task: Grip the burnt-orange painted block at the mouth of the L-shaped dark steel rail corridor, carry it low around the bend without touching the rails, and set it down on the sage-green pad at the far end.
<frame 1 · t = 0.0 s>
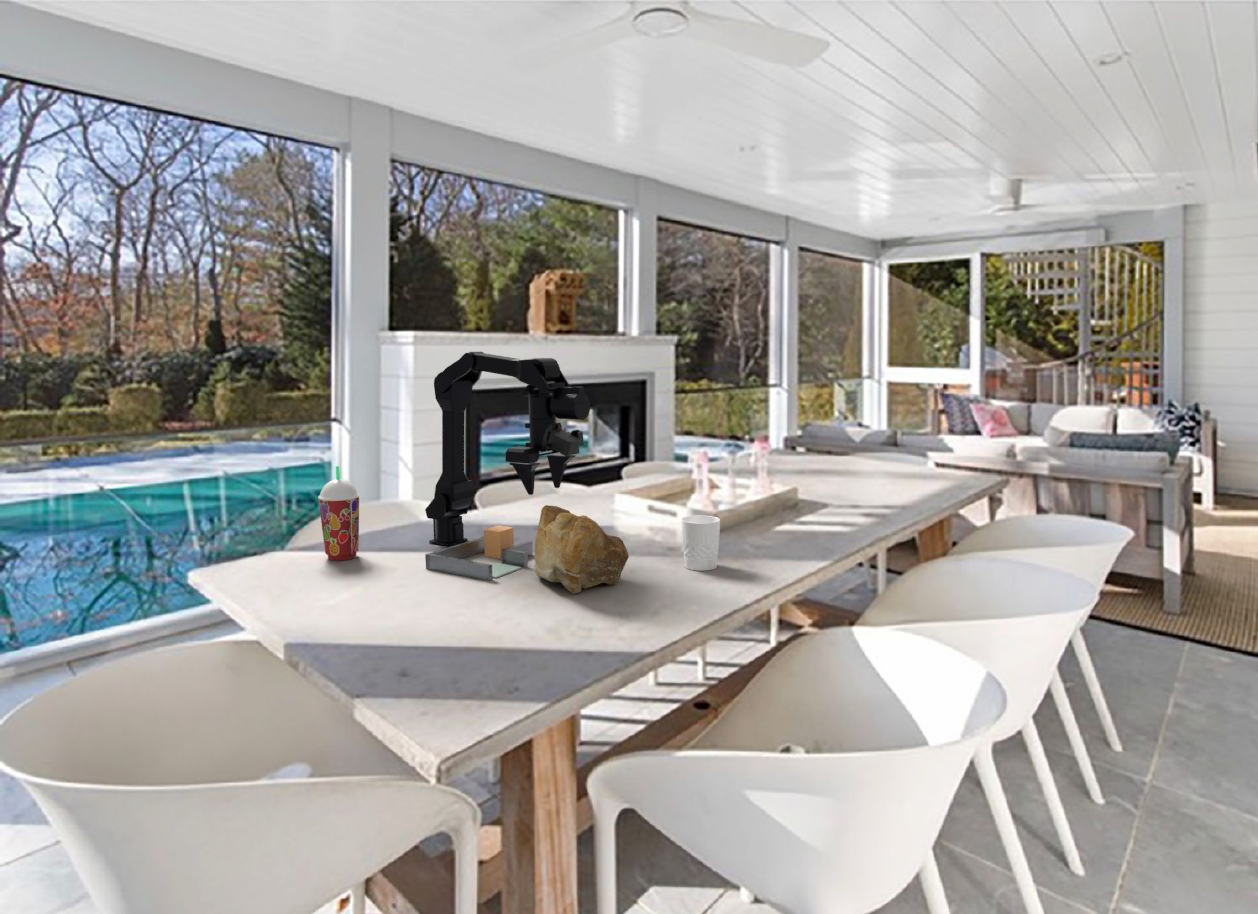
hand: (544, 491, 169), 15 cm above the table, fingers open, 9 cm apart
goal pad: (493, 570, 162), on the table
white cup: (700, 567, 164), on the table
orange block: (499, 555, 174), on the table
steel rail course: (467, 565, 165), on the table
smoothie: (342, 558, 172), on the table
rough brown rock: (584, 583, 153), on the table
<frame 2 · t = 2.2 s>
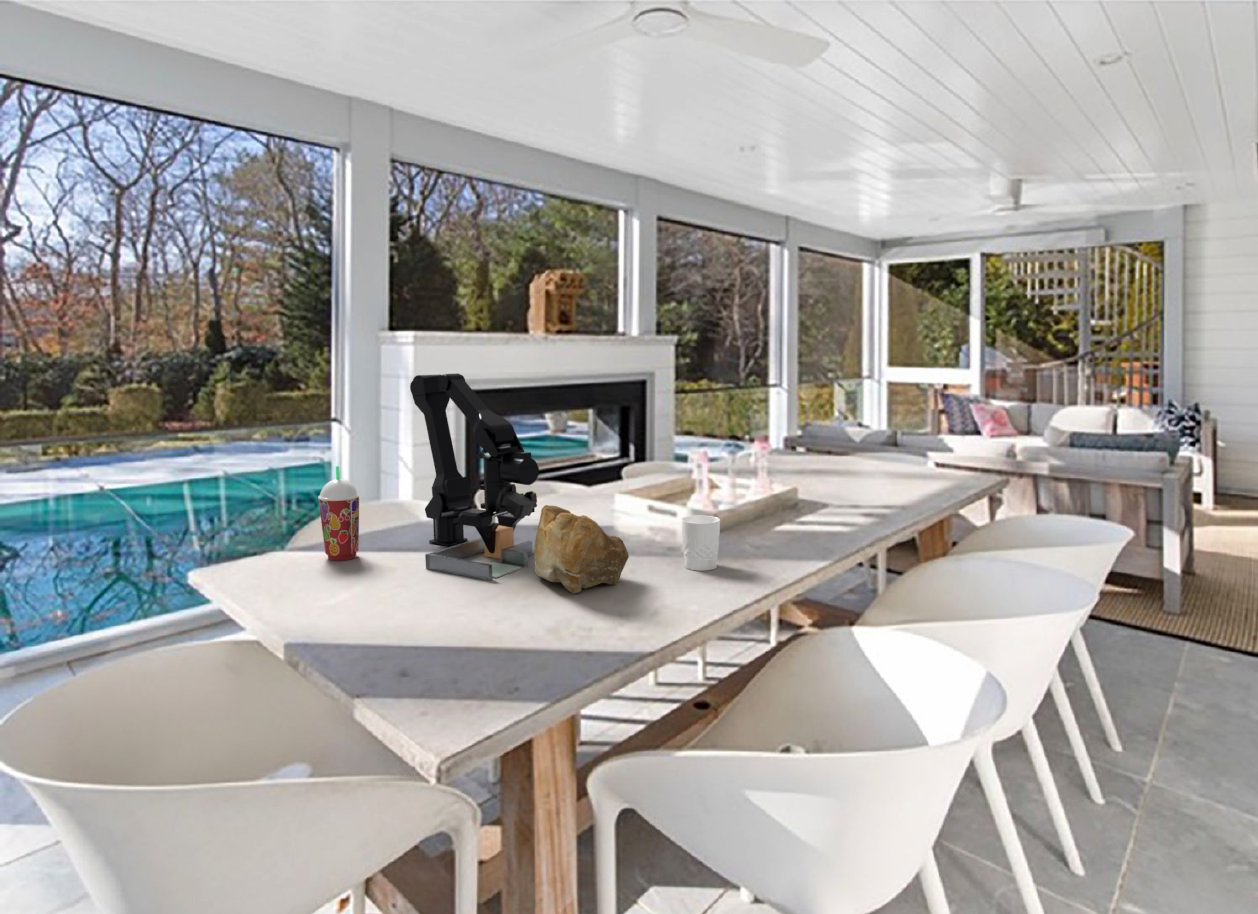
hand: (499, 550, 174), 1 cm above the table, fingers closed on orange block, 4 cm apart
orange block: (499, 555, 174), on the table, touching gripper
everything else where it was.
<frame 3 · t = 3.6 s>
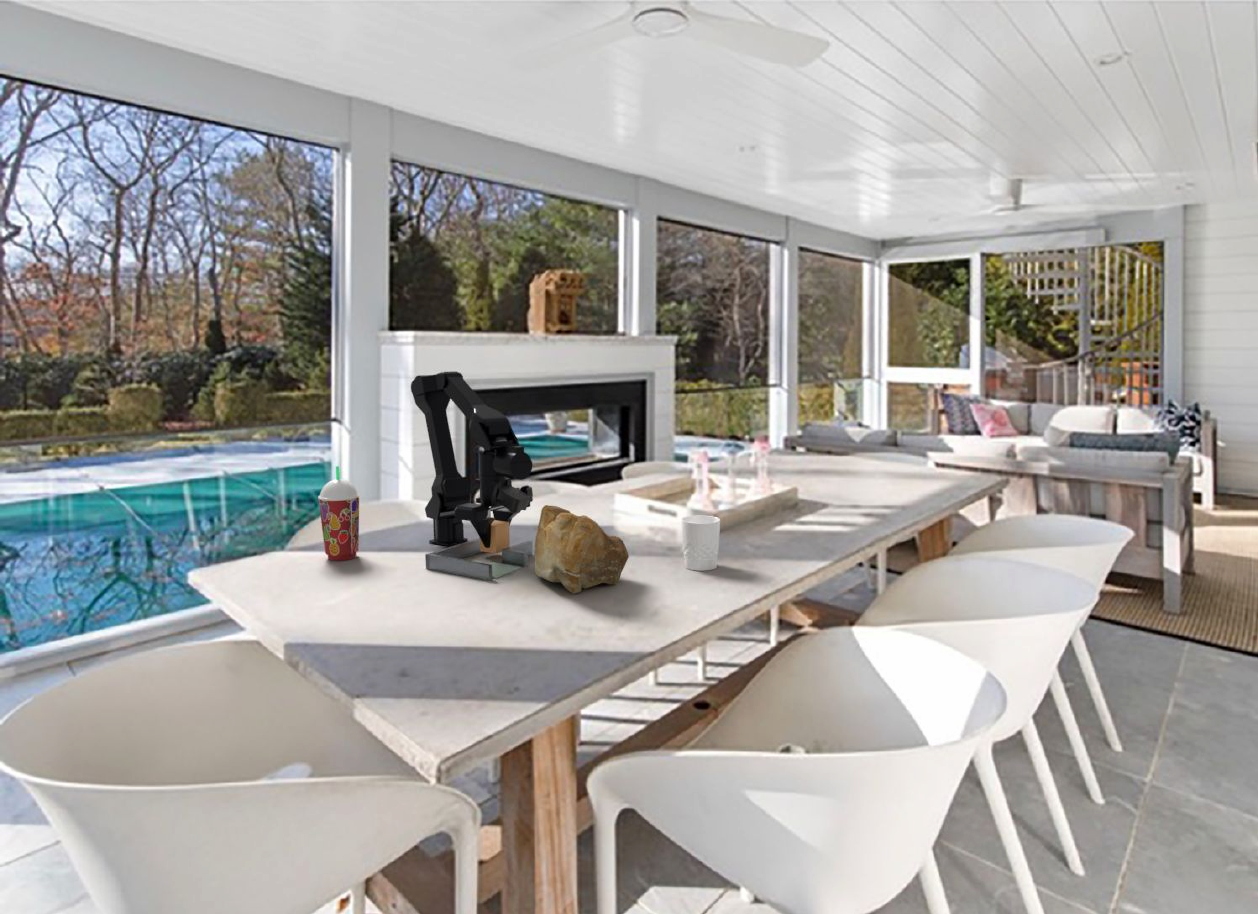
hand: (494, 545, 172), 3 cm above the table, fingers closed on orange block, 4 cm apart
orange block: (494, 549, 172), point 1 cm above the table, touching gripper
everything else where it was.
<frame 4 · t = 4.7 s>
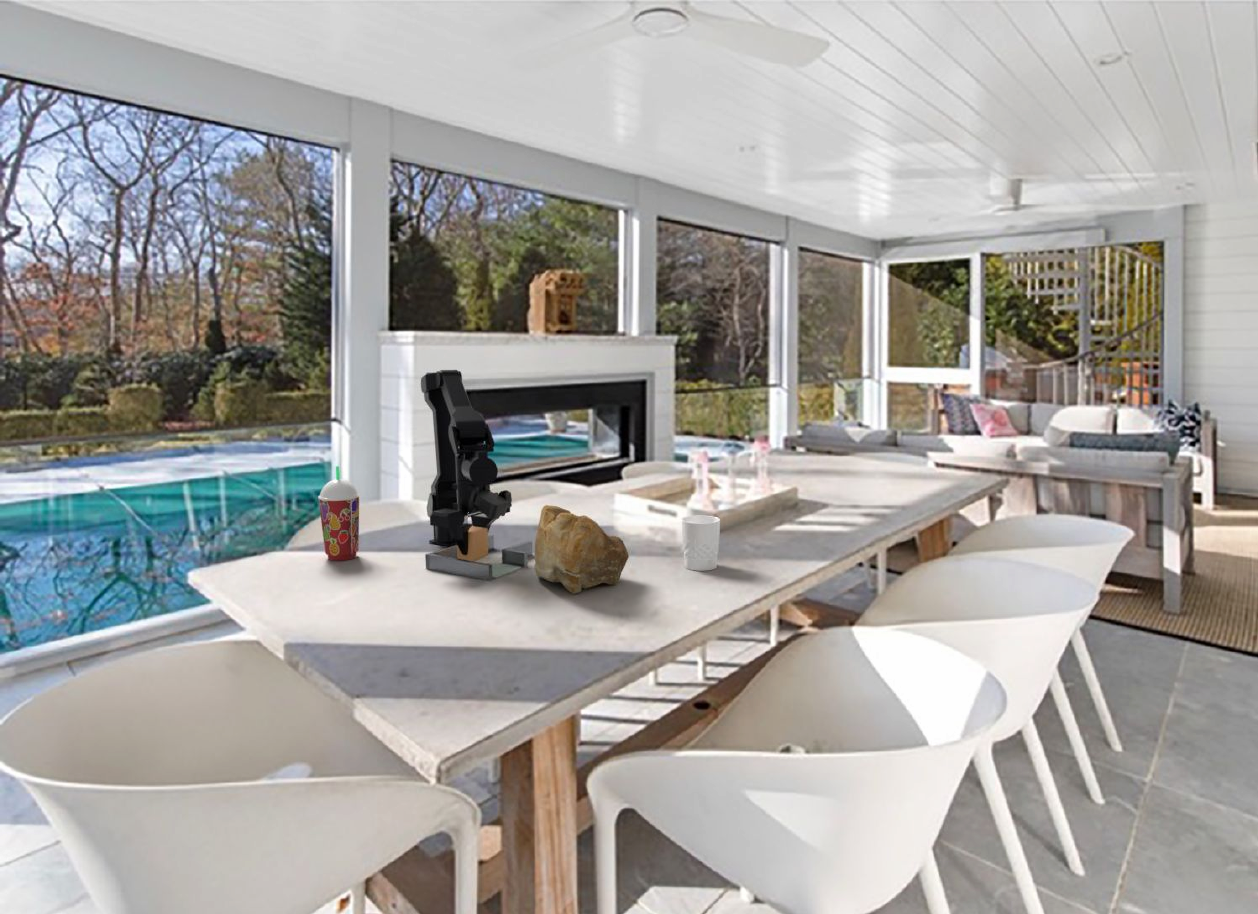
hand: (472, 552, 166), 3 cm above the table, fingers closed on orange block, 4 cm apart
orange block: (472, 557, 166), point 1 cm above the table, touching gripper
everything else where it was.
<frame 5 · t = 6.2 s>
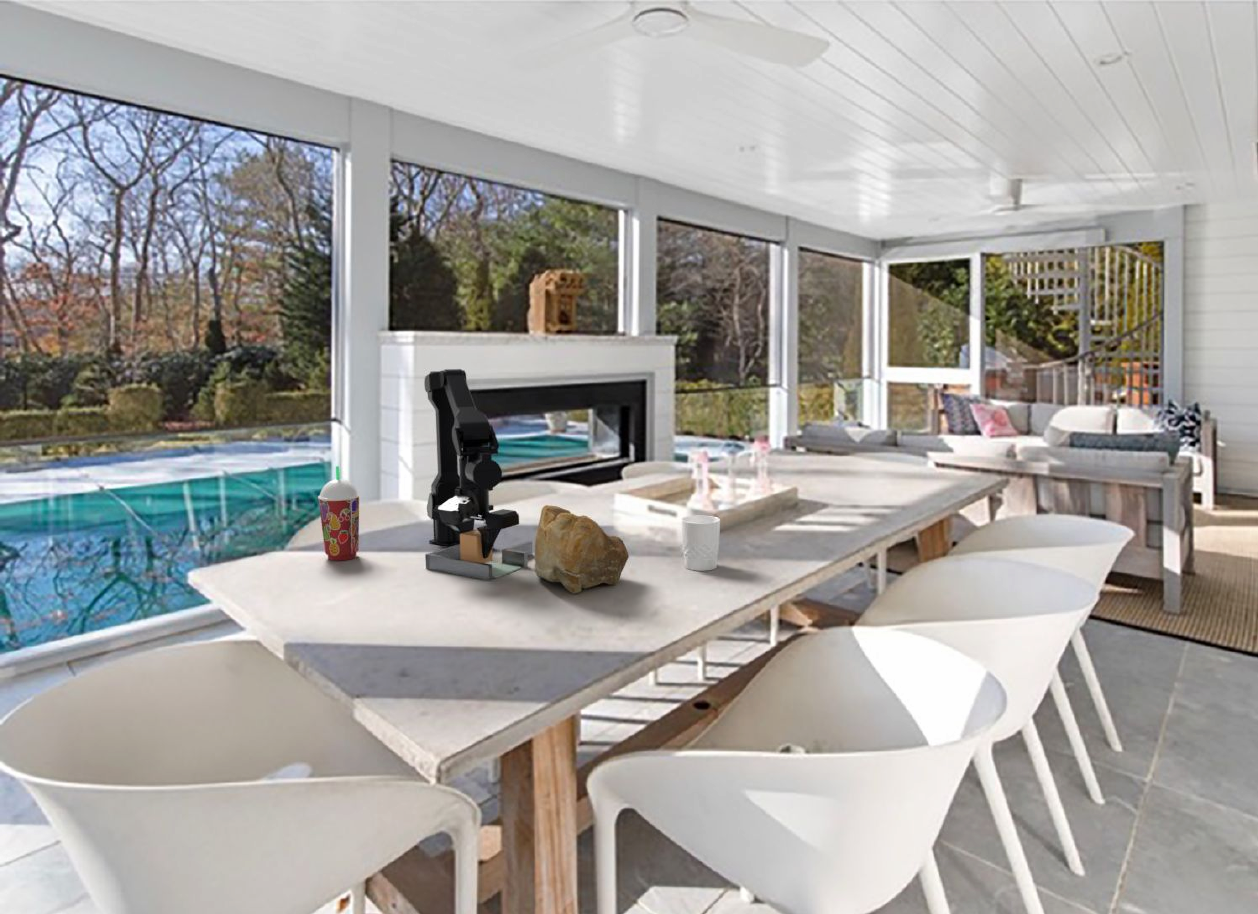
hand: (476, 556, 162), 3 cm above the table, fingers closed on orange block, 4 cm apart
orange block: (476, 561, 163), point 2 cm above the table, touching gripper
everything else where it was.
when the fingers open (2 cm above the table, at t = 7.1 s): orange block drops 1 cm, resting on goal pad.
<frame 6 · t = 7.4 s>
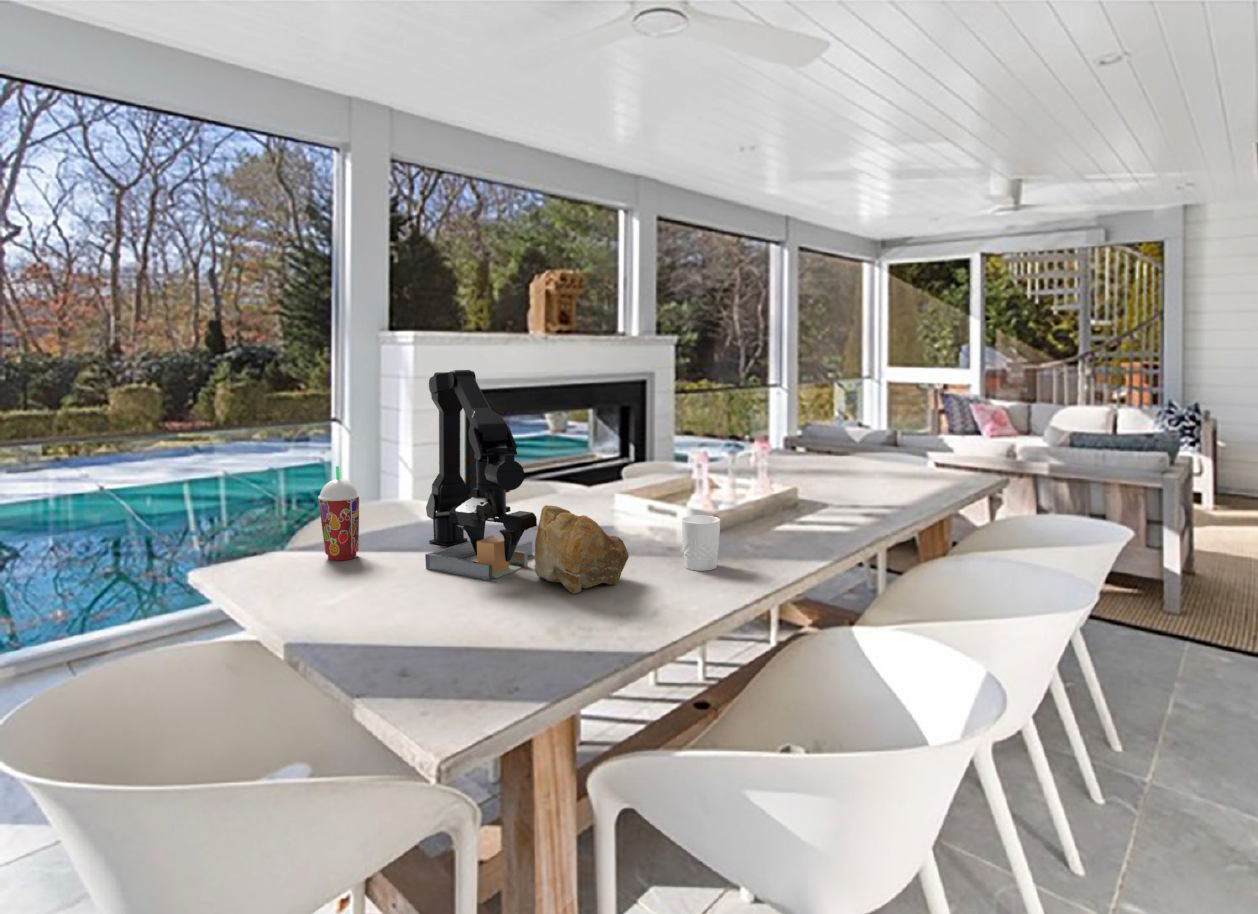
hand: (493, 558, 161), 2 cm above the table, fingers open, 7 cm apart
orange block: (493, 569, 162), resting on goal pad
everything else where it was.
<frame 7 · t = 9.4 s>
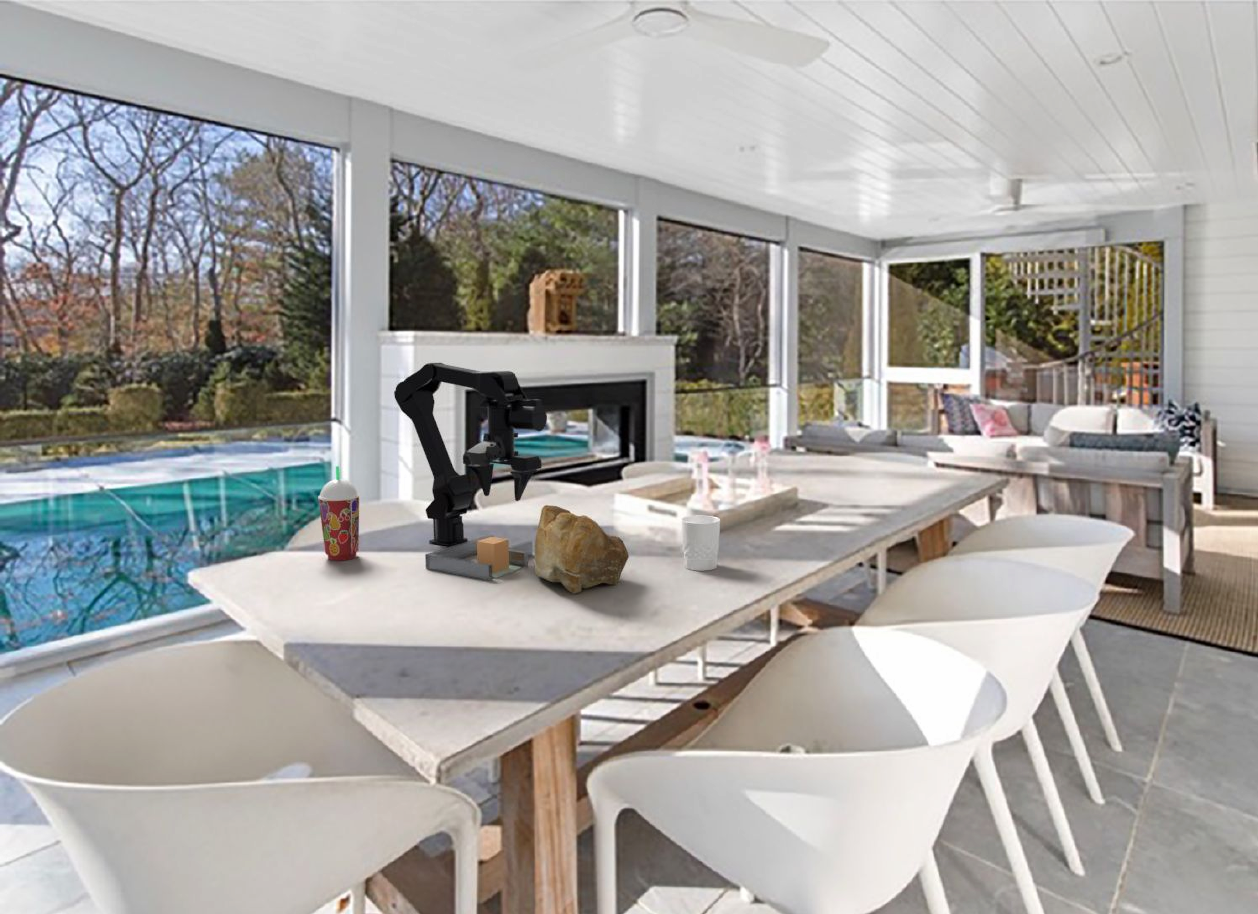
hand: (501, 498, 177), 12 cm above the table, fingers open, 9 cm apart
nothing on the table moved.
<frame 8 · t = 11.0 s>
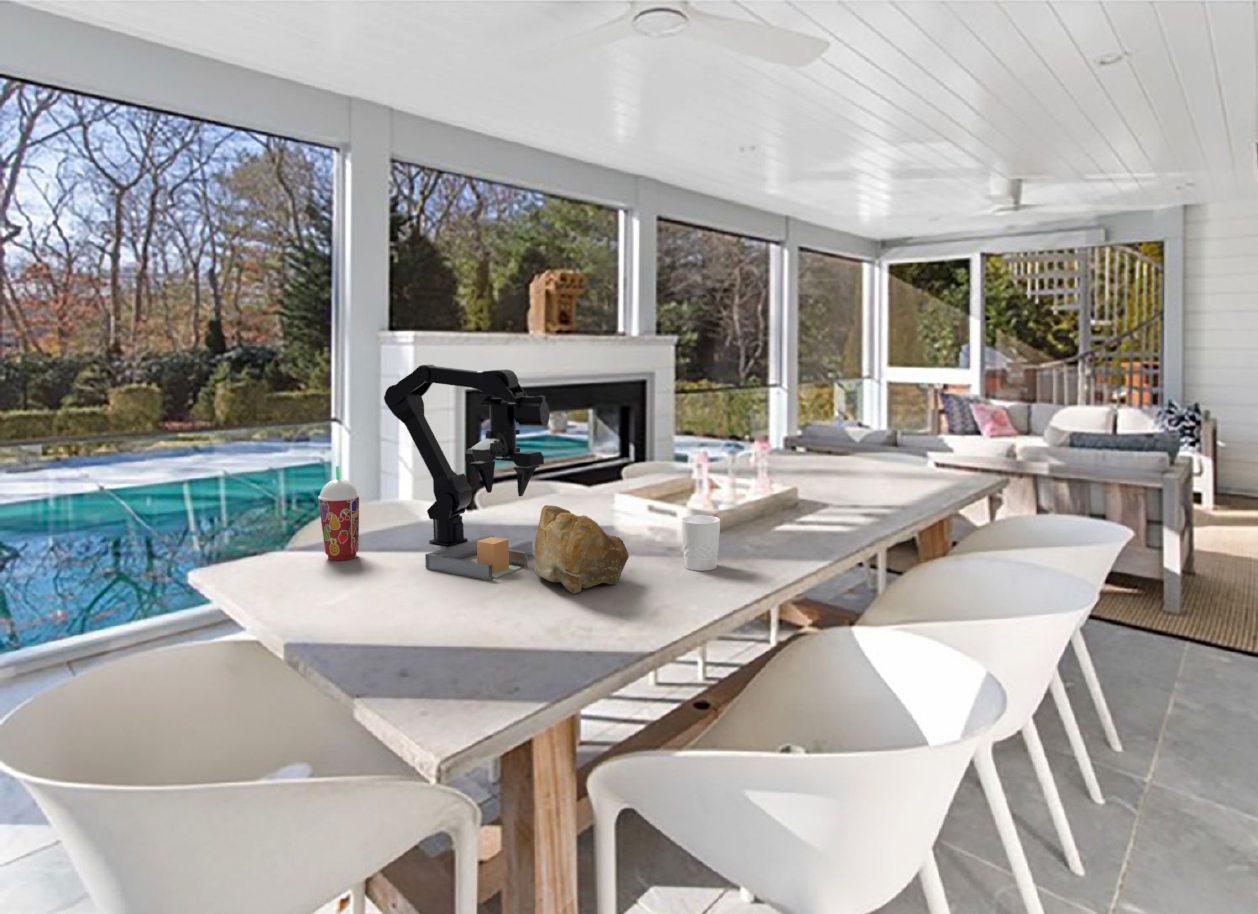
hand: (504, 494, 180), 12 cm above the table, fingers open, 9 cm apart
nothing on the table moved.
at the end: orange block 0.0 cm off-centre on the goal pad, point 0.3 cm above the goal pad's base; orange block tilted 0°; orange block touching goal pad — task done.
